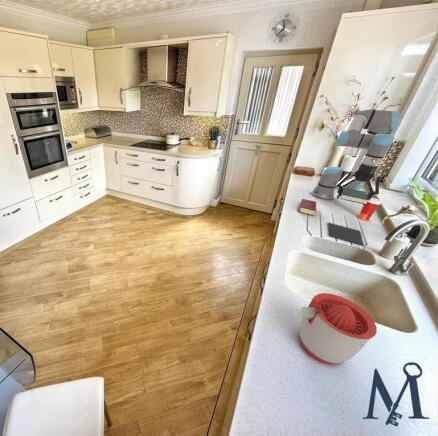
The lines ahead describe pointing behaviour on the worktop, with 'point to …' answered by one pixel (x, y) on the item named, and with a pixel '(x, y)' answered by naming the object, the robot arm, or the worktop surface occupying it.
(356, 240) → the rubber mat
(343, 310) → the citrus juicer
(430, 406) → the worktop surface
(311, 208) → the burgundy notebook
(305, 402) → the worktop surface
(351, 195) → the teal hardback
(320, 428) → the worktop surface
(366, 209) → the paper cup
